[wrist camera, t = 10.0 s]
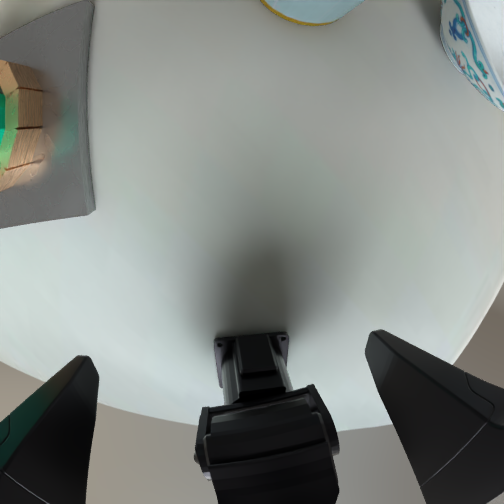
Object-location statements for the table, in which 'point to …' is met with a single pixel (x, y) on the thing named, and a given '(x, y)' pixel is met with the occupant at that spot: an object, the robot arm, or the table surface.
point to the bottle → (311, 10)
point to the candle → (2, 116)
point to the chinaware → (476, 43)
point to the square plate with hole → (46, 119)
